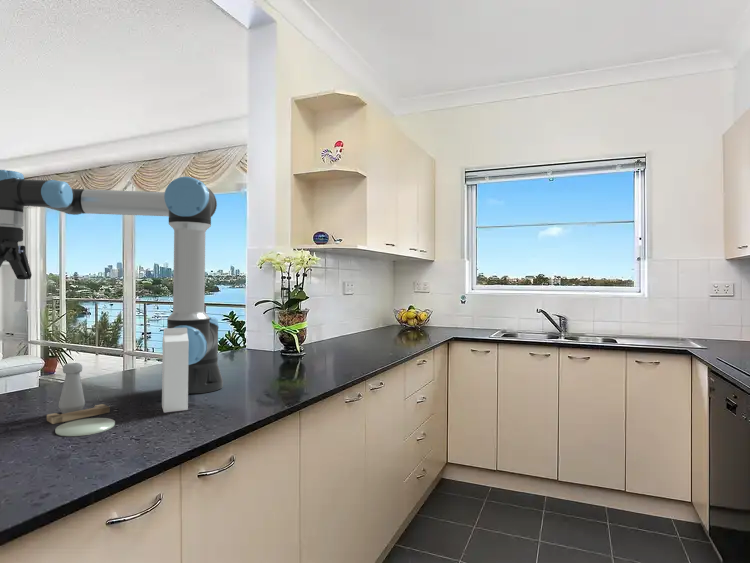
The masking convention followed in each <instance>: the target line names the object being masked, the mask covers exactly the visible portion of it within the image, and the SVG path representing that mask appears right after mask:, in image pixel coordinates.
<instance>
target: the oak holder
mask: <svg viewBox="0 0 750 563" xmlns="http://www.w3.org/2000/svg"><path fill="white" fill-rule="evenodd" d="M107 413H108V414H109V413H110V406H108V405H106V404H104V403H102V404H97V405H94V407H92V408H86V409H83V410H80V411H75V412H69V413H64V414H62V413H61V414H59V413H57V412H56V413H54V412H53V413H49V414H46V422H48V423H50V424H52V425H55V424H60V423H64V422H65V423H66V422H71V421H75V420H81V419H86V418H89V417H93V416H98V415H103V414H107Z"/></svg>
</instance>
